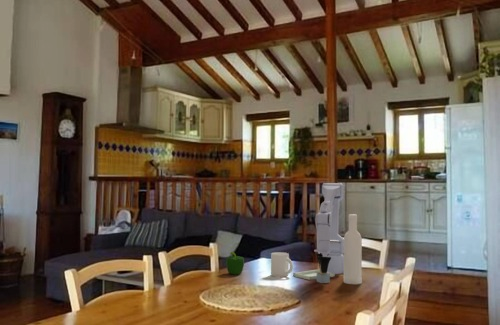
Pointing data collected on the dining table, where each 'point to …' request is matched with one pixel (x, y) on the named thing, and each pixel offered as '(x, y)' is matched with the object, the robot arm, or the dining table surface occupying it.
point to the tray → (310, 274)
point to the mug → (280, 264)
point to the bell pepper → (234, 264)
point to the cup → (323, 278)
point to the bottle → (352, 253)
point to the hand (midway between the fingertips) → (323, 271)
